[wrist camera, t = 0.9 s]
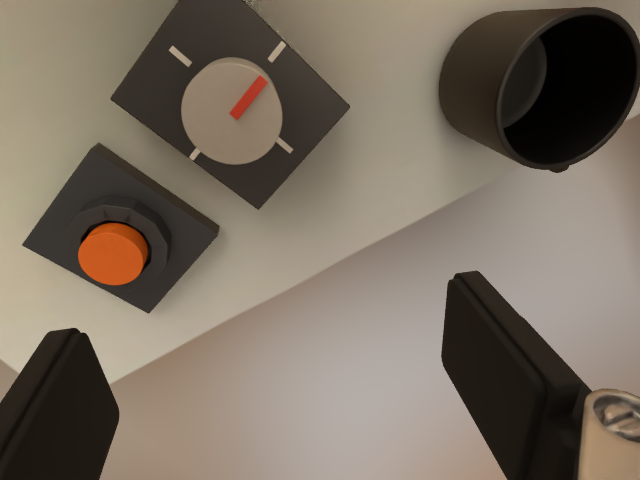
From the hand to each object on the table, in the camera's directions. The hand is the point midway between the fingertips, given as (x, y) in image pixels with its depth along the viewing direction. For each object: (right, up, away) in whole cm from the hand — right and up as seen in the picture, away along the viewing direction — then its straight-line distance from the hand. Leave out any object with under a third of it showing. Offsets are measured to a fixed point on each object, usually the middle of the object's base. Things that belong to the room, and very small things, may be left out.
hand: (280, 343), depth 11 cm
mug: (+16, +15, +23) cm, 31 cm away
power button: (-14, +2, +21) cm, 25 cm away
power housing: (-15, +4, +24) cm, 28 cm away
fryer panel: (-5, +14, +20) cm, 25 cm away
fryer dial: (-5, +12, +16) cm, 21 cm away
